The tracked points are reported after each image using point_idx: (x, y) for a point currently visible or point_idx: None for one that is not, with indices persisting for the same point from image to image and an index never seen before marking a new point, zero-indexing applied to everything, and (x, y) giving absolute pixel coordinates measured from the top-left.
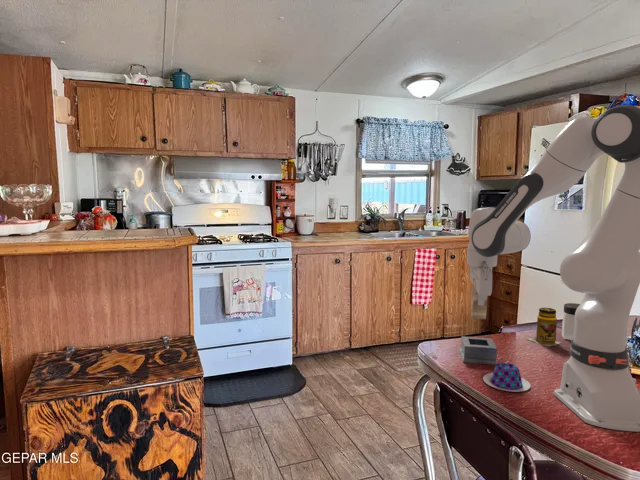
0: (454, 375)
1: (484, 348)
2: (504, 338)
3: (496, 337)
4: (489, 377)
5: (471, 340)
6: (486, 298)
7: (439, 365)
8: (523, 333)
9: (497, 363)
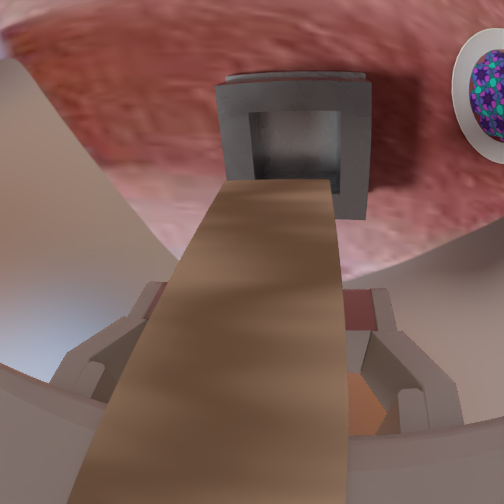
0: (464, 233)
1: (369, 137)
2: (55, 44)
3: (55, 69)
4: (480, 135)
5: (255, 175)
6: (342, 312)
7: (396, 263)
8: (4, 7)
9: None
